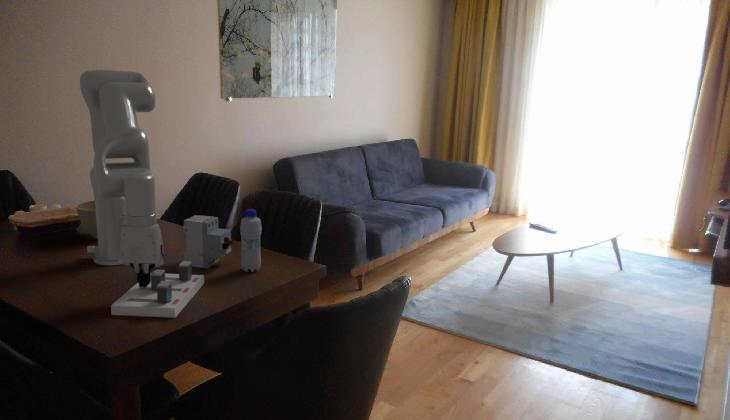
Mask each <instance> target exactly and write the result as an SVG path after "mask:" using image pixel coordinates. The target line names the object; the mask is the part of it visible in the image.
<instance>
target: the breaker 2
mask: <svg viewBox="0 0 730 420" xmlns="http://www.w3.org/2000/svg"><path fill="white" fill-rule="evenodd" d="M192 269H193V266H192V261H184V260H182V261H181V263H179V264H178V274H179V280H187V281H188V280H189V279H190V278H191V277H192V275H193V271H192Z"/></svg>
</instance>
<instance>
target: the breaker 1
mask: <svg viewBox="0 0 730 420" xmlns="http://www.w3.org/2000/svg"><path fill="white" fill-rule="evenodd" d="M171 298H172V283H171V281H161V282H160V283H159V284H158V285H157V302H158V303H167V302H168V301H169V300H170V299H171Z"/></svg>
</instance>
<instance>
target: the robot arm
mask: <svg viewBox="0 0 730 420" xmlns="http://www.w3.org/2000/svg"><path fill="white" fill-rule="evenodd" d="M79 86H80V88H79V89H80V92H81V95H82V98H83V100H84V102H85V104H86V107H87V109H88V111H89V117H90V127H91V130H90V131H91V139H92V148H93V152H94V157H93V167H91V169H90V171H89V172H90V173H89V180H90V184H91V188H92V193H93V196H94V197H93V198H94V199H93V200H94V201H95V208H96V222H97V236H98V239H97V246H94V245H87V247H86V253H87V254H90V255H91V254H94V255H95V256H94V257H93V262H94V263H95V264H96V265H100V266H120V265H125V266H130V267H131V268H132V269H133V270H134V272H135V273H136V277H137V278H136V280H137V283H139V287H146V286H148V285H149V283H150V282H151V273H152V272H151V271H152V270H153V269H154V268H158V267H162V266H163V265H164V264H165V262H164V254H165V253H164V243H163V236H162V231H161V228H160V225H159V223H157V206H156V205H157V204H156V186H155V185H156V184H155V183H156V182H155V181H156V180H155V177H154V174H153V173H152V171H151V161H150V159H151V158H150V146H149V138H148V136H147V134H146V132H145V131H144V130H143V129H141V128H140V127H139V123H138V118H137V113H152V111H154V109H155V108H156V95H155V92H154V89H153V87H152V85H151V84H150V82H149V81H148V79H147V78H145V76H144V75H143V74H142V73H140V72H137V71H127V70H125V71H123V70H111V69H109V70H108V69H92V70H91V69H90V70H86V71H83V72H82V73H81V75H80V77H79ZM106 159H107V160H108V159H109V160H110V159H132V161H130V162H129V161H128V162H106Z"/></svg>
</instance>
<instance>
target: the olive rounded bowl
mask: <svg viewBox="0 0 730 420" xmlns="http://www.w3.org/2000/svg"><path fill="white" fill-rule="evenodd" d="M75 207H76V213H77V216H78V219H79V221H80V224H81V225H82V227H83V228H84V229H85V230H86V232H87V234H89V235H90V236H91V237H92V238H93V239H95V240H98V236H97V222H96V208H95V200H90V201H85V202H84V201H83V202H80V203H79V204H76V206H75Z"/></svg>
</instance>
